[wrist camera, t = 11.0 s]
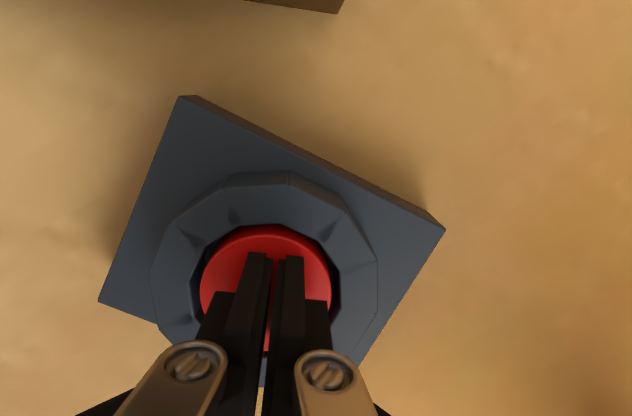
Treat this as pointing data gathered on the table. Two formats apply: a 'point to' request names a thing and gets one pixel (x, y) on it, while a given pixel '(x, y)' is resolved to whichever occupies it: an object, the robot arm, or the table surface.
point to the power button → (277, 245)
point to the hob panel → (307, 4)
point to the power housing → (257, 209)
